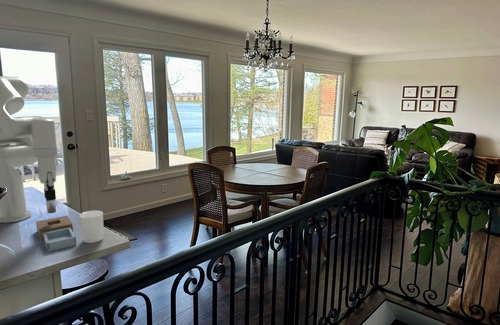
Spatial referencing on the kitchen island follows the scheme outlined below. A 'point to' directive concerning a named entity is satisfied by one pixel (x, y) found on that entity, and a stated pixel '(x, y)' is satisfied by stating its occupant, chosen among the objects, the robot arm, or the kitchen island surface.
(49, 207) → the pin
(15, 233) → the kitchen island surface
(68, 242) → the tray
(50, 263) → the kitchen island surface
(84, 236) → the white cup
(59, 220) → the socket block
